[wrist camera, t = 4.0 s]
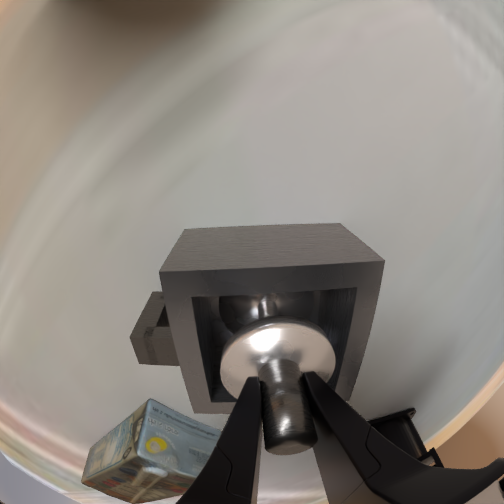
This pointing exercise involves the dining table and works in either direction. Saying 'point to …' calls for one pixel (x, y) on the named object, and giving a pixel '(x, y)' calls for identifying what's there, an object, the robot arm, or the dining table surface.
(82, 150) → the dining table surface
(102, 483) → the beverage carton
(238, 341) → the plunger
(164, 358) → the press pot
